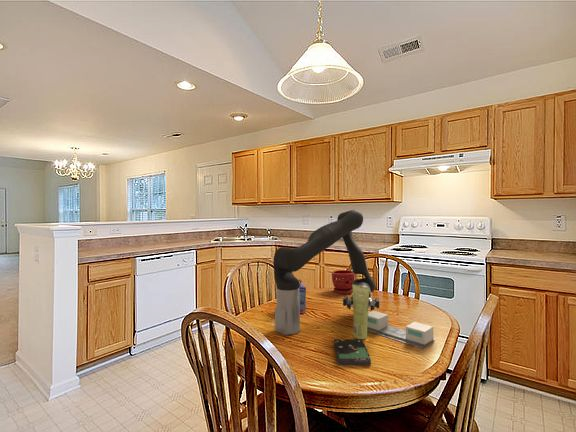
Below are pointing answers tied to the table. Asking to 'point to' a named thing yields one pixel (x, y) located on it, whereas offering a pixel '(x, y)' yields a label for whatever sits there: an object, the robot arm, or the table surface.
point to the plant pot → (343, 281)
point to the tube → (360, 310)
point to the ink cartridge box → (302, 298)
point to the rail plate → (397, 335)
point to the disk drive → (351, 352)
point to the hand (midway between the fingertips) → (360, 307)
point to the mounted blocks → (413, 330)
